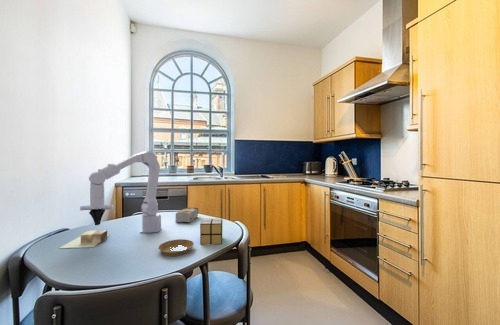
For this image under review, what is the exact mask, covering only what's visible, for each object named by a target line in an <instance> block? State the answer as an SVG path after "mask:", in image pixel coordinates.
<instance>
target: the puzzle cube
mask: <svg viewBox="0 0 500 325" xmlns="http://www.w3.org/2000/svg"><path fill="white" fill-rule="evenodd" d="M199 225H200V227H199V228H200V229H199V231H200V232H199V234H200V236H199V242H200V243H199V245H200V244H201V245H200V246H203V244H210V245H212V244H215V245H222V244H223V218H222V217H221V218H220V217H219V218H218V217H217V218H214V217H213V218H211V217H210V218H209V217H208V218H202V220H201V222H200V224H199Z"/></svg>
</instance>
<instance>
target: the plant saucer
mask: <svg viewBox="0 0 500 325" xmlns="http://www.w3.org/2000/svg"><path fill="white" fill-rule="evenodd" d="M178 245H182V246H184V247H187V249H186V250H183V251H171V250H170V249H172V248H173V247H174V248H176V247H178ZM194 245H195V244H194V242H193V241H192V240H189V239H181V238H178V239H172V240H168V241H165V242H163V243H160V245H158V250H159V251H160V253H162V254H163V255H165V256H171V257H173V256H174V257H176V256H181V254H182V255H184V253H185V254H187V253H188V252H189V251H190V250H191V249H192V248H193V246H194ZM170 247H171V248H170ZM172 250H173V249H172ZM186 252H187V253H186Z"/></svg>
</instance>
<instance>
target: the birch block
mask: <svg viewBox="0 0 500 325" xmlns="http://www.w3.org/2000/svg"><path fill="white" fill-rule="evenodd" d="M107 235H108V229H105V230H87V231H84V232H83V233H81V234H80V236H81V243H98V244H100V243H103V242H104V241H106V240H107V239H108V237H107Z"/></svg>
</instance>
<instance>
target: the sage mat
mask: <svg viewBox="0 0 500 325" xmlns="http://www.w3.org/2000/svg"><path fill="white" fill-rule="evenodd" d="M110 236H111V235H110V234H107V238H108V237H110ZM97 245H99V243H81V235H80V236H78V237H76V238H74V239H72V240H71V241H69V242H67V243H65V244H64V245H62V246H59V248H58V249H59V250H60V249H61V250H64V249H84V248H86V249H87V248H88V249H89V248H94V247H96V246H97Z"/></svg>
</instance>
